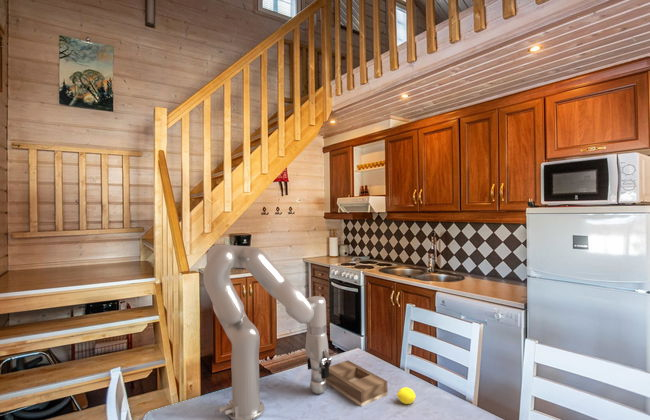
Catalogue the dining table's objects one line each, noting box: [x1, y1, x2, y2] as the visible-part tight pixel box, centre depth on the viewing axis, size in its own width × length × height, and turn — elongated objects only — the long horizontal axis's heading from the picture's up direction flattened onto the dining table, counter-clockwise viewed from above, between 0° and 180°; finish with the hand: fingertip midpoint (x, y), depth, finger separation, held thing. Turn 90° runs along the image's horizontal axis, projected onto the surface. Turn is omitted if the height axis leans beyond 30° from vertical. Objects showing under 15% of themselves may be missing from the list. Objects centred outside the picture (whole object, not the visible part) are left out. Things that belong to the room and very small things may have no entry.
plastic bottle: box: [309, 352, 328, 395], centre depth 138 cm, size 6×7×20 cm
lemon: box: [396, 386, 417, 405], centre depth 128 cm, size 7×5×5 cm
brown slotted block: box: [325, 359, 389, 407], centre depth 140 cm, size 13×24×5 cm, turn 35°
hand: (318, 372), depth 138 cm, fingers open, 9 cm apart
